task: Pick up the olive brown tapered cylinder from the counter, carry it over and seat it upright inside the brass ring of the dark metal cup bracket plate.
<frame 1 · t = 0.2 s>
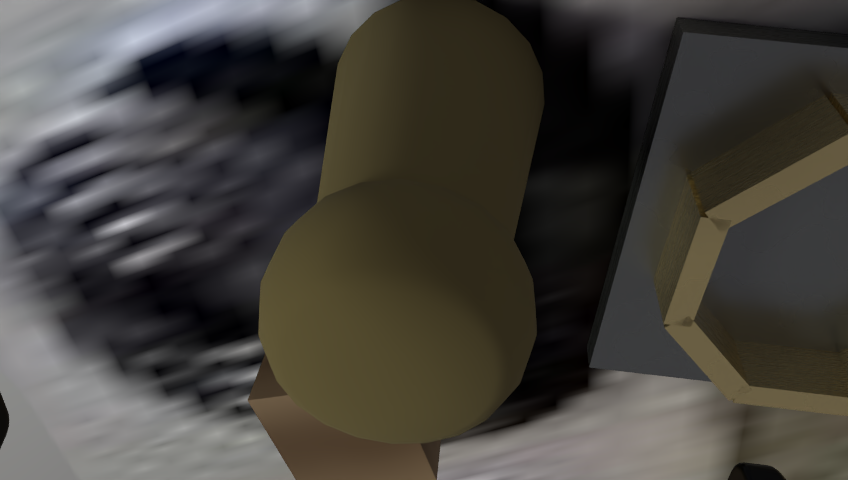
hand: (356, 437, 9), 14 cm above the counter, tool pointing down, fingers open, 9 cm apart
walnut block: (364, 356, 28), on the counter
cup bracket: (822, 229, 23), on the counter
olive brown tapered cylinder: (439, 95, 22), on the counter
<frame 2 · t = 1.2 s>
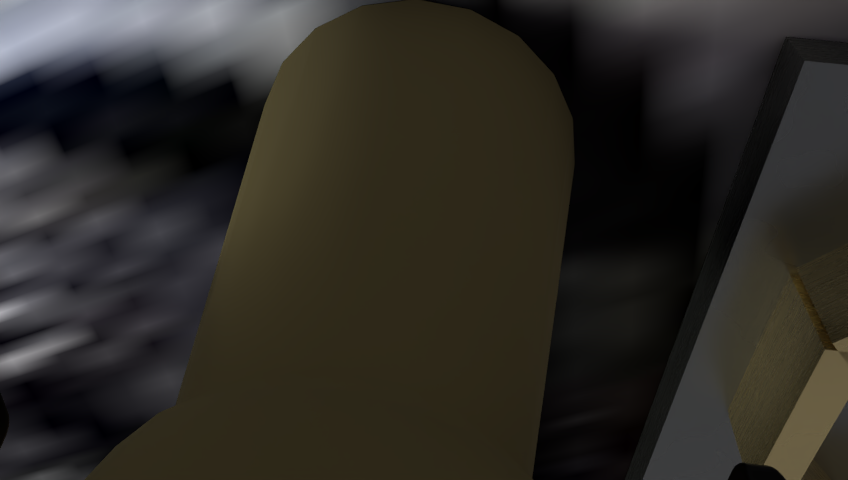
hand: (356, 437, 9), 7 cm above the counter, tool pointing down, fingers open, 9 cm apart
olive brown tapered cylinder: (417, 150, 15), on the counter
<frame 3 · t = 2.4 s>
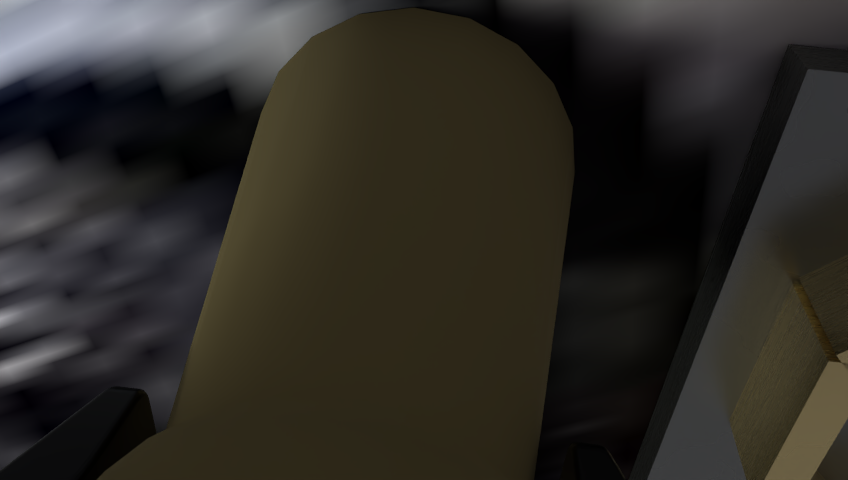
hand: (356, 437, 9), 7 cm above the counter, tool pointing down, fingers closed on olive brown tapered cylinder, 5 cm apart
olive brown tapered cylinder: (415, 159, 15), on the counter, touching gripper
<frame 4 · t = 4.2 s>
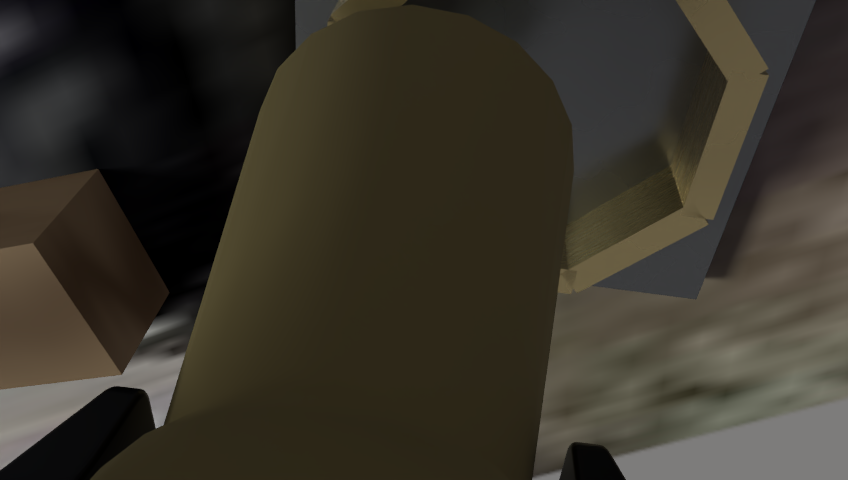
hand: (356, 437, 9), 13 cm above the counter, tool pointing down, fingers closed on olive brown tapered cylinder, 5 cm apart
walnut block: (72, 242, 25), on the counter
cup bracket: (529, 73, 20), on the counter
olive brown tapered cylinder: (414, 156, 14), point 6 cm above the counter, touching gripper
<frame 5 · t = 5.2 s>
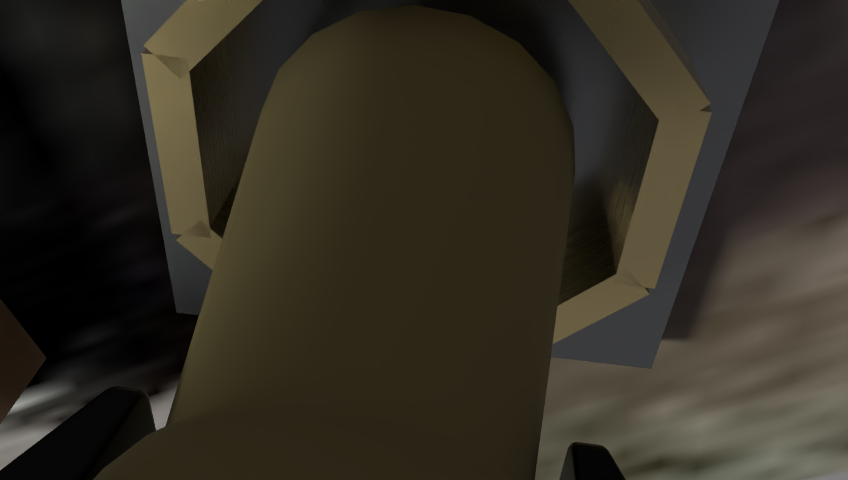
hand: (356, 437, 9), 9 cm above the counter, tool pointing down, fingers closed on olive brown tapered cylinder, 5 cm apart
cup bracket: (430, 105, 16), on the counter
olive brown tapered cylinder: (416, 157, 14), point 2 cm above the counter, touching gripper
when the fingers open (8 cm above the counter, at t = 6.0 s): olive brown tapered cylinder stays where it is, resting on cup bracket.
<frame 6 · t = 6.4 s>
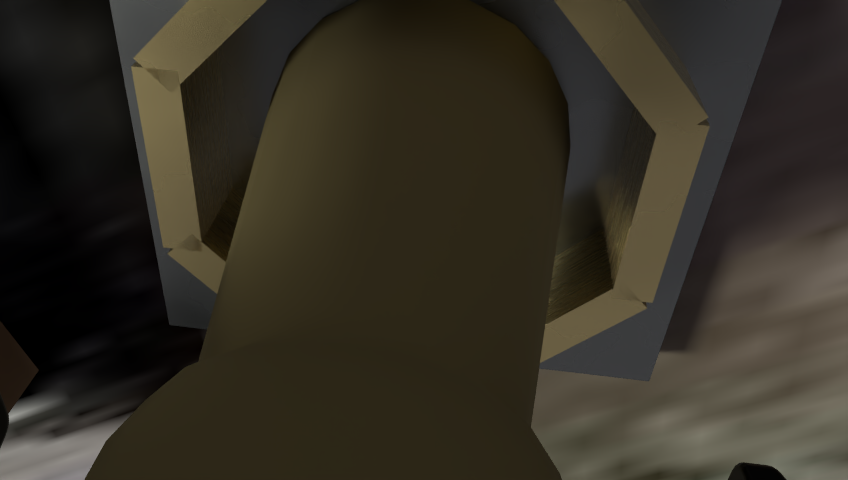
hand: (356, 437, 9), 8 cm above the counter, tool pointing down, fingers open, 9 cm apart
cup bracket: (425, 116, 16), on the counter
olive brown tapered cylinder: (419, 136, 15), point 1 cm above the counter, touching cup bracket
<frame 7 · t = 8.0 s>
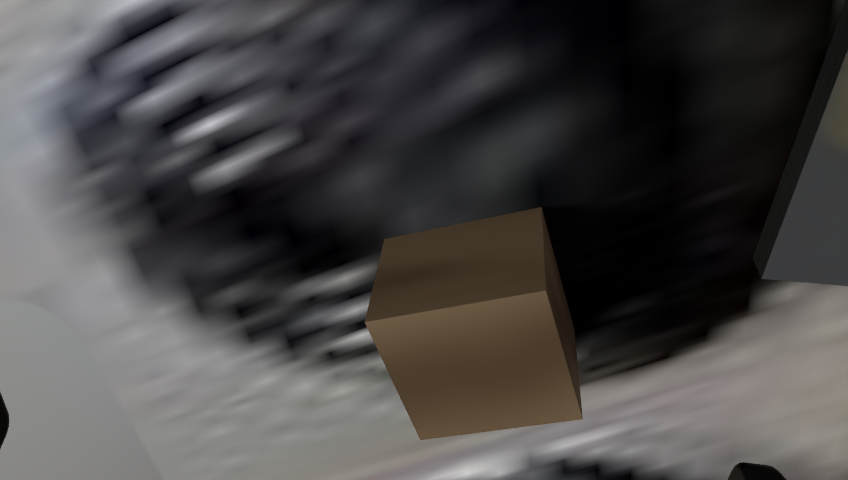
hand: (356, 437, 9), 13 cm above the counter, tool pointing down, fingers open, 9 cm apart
walnut block: (482, 282, 24), on the counter
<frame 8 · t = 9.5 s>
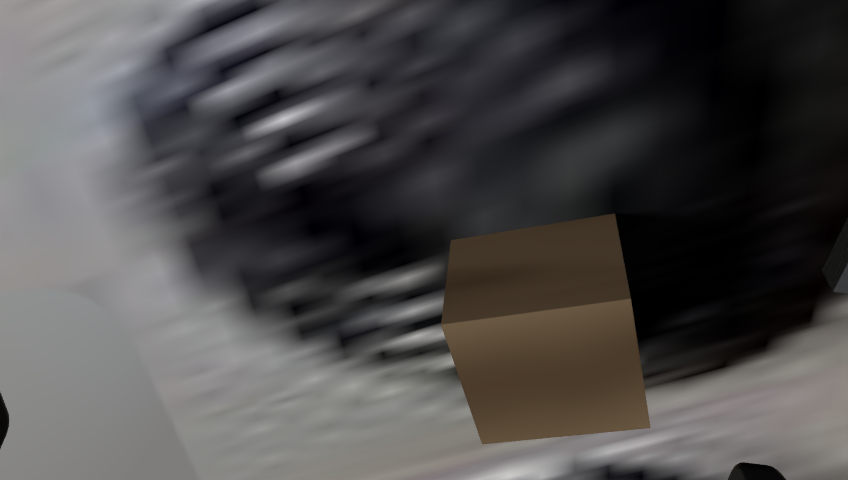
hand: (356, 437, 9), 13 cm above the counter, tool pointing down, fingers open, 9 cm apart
walnut block: (545, 287, 24), on the counter
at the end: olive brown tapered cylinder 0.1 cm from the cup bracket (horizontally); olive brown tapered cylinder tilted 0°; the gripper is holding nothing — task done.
